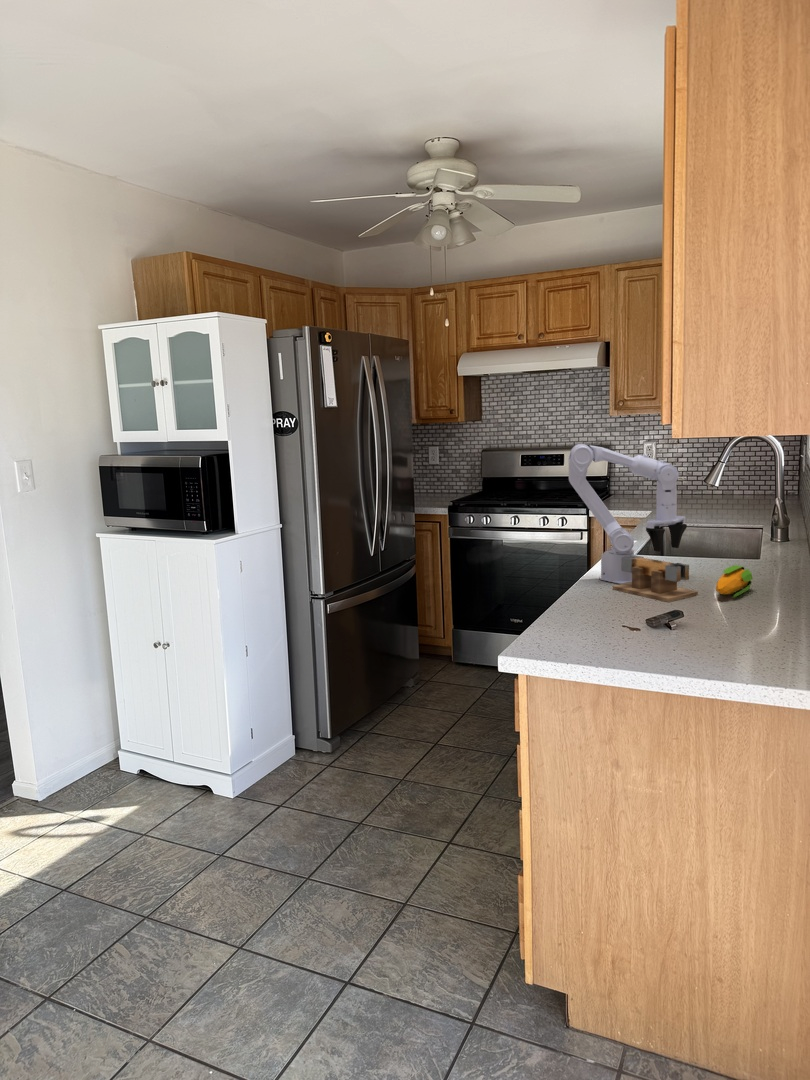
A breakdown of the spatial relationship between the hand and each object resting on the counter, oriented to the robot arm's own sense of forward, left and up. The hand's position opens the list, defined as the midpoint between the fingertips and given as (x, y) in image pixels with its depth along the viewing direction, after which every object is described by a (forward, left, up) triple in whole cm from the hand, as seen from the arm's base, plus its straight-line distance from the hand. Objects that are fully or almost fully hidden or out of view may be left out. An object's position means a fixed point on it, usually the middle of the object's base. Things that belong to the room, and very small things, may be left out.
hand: (666, 549), depth 228 cm
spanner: (+7, -14, -5) cm, 16 cm away
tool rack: (+7, -14, -10) cm, 18 cm away
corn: (+23, 0, -10) cm, 25 cm away
